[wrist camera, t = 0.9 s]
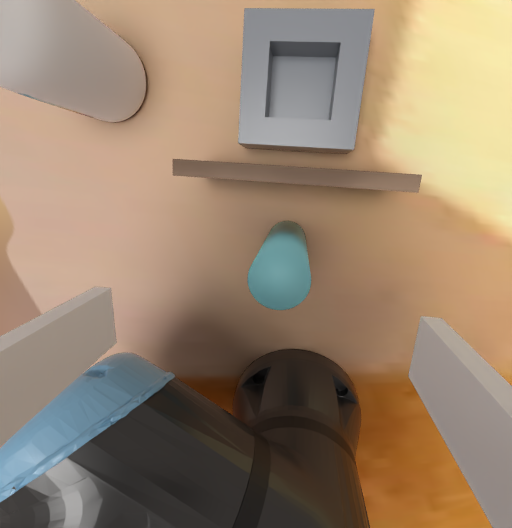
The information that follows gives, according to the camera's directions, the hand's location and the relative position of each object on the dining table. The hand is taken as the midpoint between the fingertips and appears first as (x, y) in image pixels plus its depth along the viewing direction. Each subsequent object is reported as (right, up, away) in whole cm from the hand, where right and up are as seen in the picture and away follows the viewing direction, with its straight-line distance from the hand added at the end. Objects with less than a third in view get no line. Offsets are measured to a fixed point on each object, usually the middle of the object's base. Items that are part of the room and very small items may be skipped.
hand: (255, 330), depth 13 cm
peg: (+3, +5, +19) cm, 21 cm away
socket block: (+4, +19, +16) cm, 25 cm away
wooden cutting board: (+4, +12, +18) cm, 22 cm away
